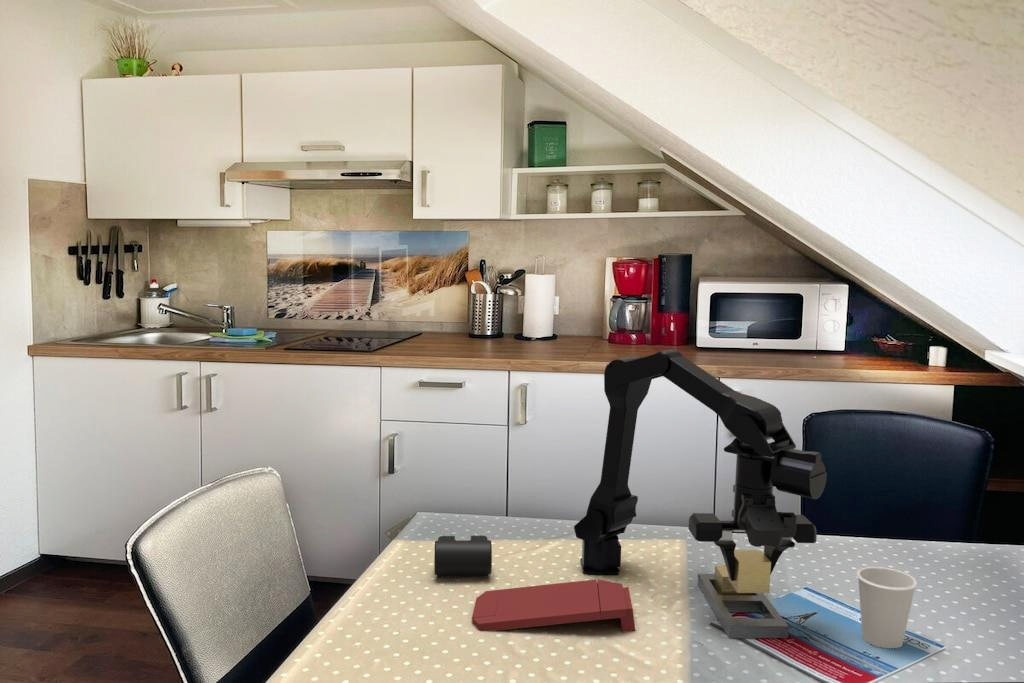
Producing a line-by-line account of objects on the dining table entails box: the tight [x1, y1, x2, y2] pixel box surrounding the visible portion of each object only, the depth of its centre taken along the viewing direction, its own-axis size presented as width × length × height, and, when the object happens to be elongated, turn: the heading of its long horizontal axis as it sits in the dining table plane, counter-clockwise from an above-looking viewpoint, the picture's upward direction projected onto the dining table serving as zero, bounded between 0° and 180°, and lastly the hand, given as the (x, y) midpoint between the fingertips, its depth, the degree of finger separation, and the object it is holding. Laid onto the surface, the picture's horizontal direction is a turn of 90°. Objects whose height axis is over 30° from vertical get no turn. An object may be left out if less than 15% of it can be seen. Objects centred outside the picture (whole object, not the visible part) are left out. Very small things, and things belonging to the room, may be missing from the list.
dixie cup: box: [856, 566, 918, 650], centre depth 125 cm, size 8×8×10 cm
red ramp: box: [471, 578, 636, 632], centre depth 132 cm, size 12×5×25 cm
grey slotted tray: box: [697, 573, 789, 640], centre depth 135 cm, size 9×20×2 cm, turn 1°
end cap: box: [433, 534, 493, 578], centre depth 147 cm, size 10×7×7 cm
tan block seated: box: [714, 564, 752, 596], centre depth 139 cm, size 5×5×5 cm
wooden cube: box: [728, 549, 771, 594], centre depth 130 cm, size 5×5×5 cm
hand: (748, 580), depth 131 cm, fingers closed on wooden cube, 5 cm apart
